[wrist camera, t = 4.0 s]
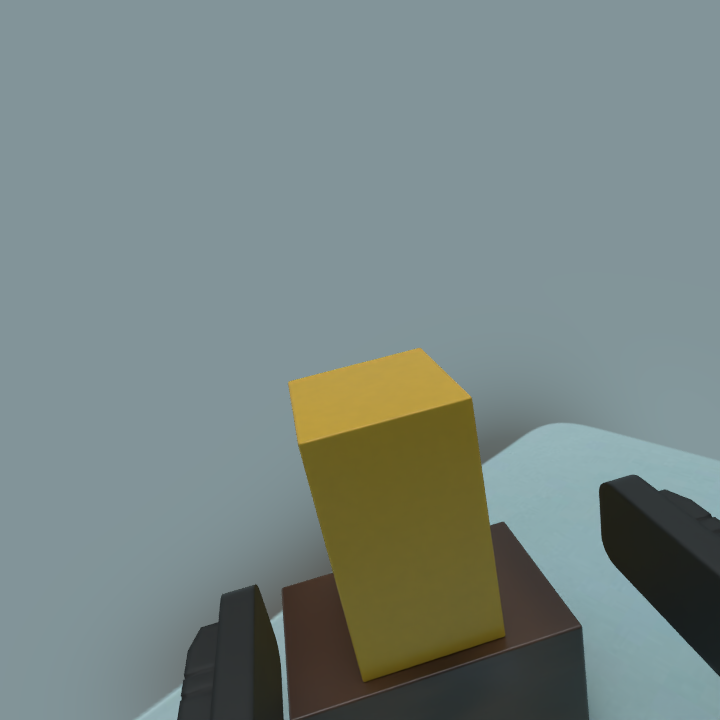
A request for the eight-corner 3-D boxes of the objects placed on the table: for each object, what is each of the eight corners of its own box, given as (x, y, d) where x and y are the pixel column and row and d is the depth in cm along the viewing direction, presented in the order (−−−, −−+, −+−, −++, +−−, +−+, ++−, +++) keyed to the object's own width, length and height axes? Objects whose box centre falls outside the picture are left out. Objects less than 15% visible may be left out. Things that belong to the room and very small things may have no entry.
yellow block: (363, 683, 17) (297, 444, 14) (340, 578, 22) (287, 381, 19) (506, 637, 18) (472, 396, 15) (454, 543, 22) (420, 346, 19)
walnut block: (324, 823, 18) (289, 722, 16) (308, 673, 24) (281, 587, 22) (591, 729, 19) (582, 625, 18) (515, 607, 25) (503, 520, 23)
